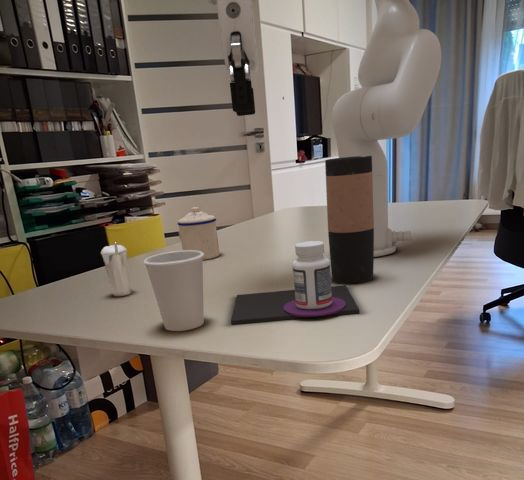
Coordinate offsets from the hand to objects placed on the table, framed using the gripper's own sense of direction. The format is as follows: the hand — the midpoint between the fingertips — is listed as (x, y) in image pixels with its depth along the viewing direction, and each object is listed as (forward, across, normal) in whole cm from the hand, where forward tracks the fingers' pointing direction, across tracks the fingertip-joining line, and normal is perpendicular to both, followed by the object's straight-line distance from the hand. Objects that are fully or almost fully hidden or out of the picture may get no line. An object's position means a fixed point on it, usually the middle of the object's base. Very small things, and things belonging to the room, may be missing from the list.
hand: (244, 113), depth 84 cm
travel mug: (+28, -2, -16) cm, 33 cm away
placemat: (+28, -15, -5) cm, 32 cm away
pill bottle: (+28, -19, -8) cm, 34 cm away
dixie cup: (+28, -20, +11) cm, 37 cm away
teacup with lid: (+28, +34, +16) cm, 47 cm away
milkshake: (+28, +2, +26) cm, 39 cm away
